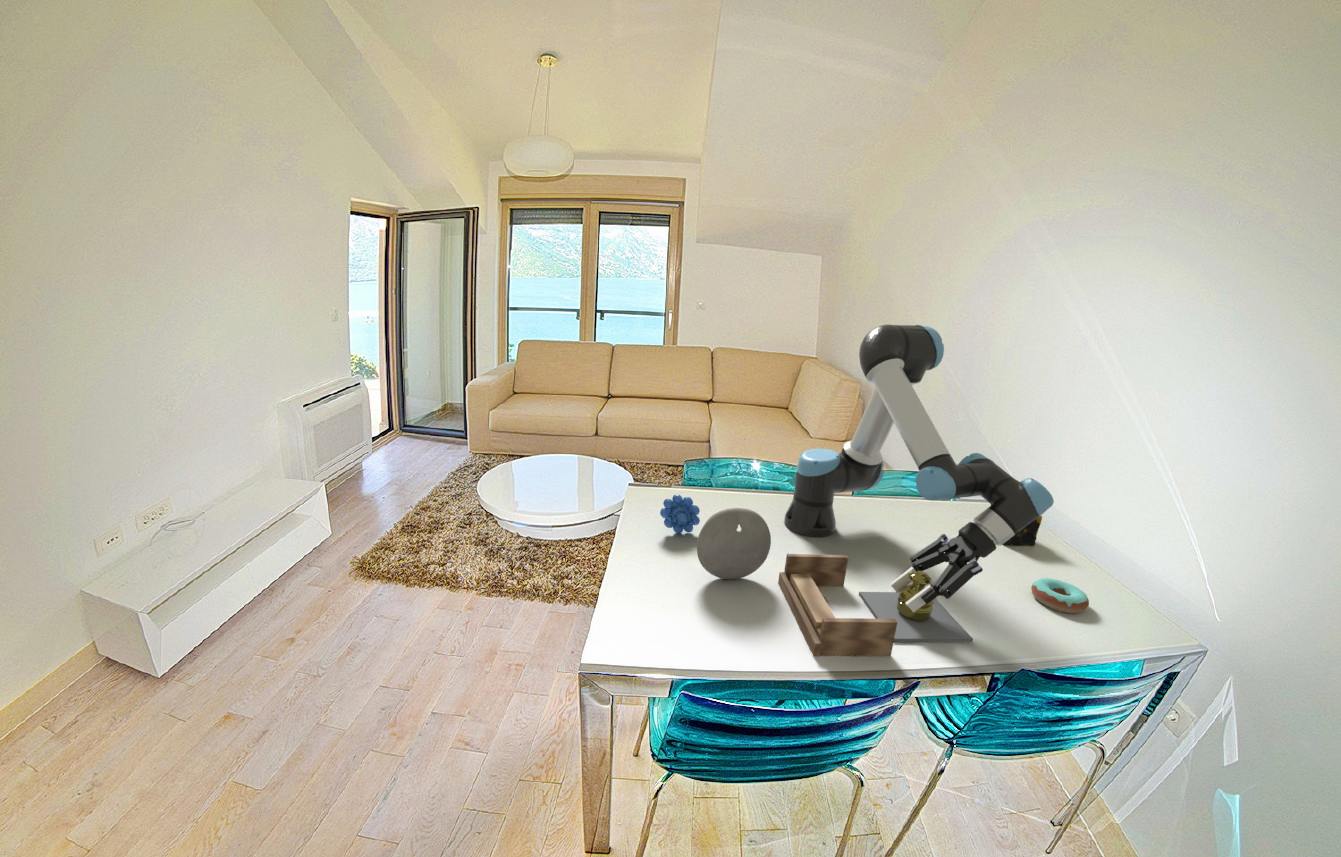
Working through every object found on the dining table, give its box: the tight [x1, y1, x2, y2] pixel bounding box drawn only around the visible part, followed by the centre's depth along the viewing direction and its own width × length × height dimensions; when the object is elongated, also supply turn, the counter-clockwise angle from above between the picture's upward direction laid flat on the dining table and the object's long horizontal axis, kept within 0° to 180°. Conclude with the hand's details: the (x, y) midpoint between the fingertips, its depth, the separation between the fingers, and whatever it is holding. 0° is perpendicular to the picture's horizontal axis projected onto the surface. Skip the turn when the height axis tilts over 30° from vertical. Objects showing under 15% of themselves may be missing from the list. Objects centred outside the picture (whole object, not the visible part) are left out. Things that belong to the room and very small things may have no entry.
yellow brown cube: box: [1002, 515, 1043, 547], centre depth 174 cm, size 10×10×10 cm
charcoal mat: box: [858, 591, 974, 643], centre depth 131 cm, size 18×18×1 cm
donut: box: [1030, 577, 1090, 614], centre depth 141 cm, size 12×12×4 cm
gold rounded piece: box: [897, 571, 934, 620], centre depth 129 cm, size 7×7×10 cm
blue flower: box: [659, 493, 701, 534], centre depth 162 cm, size 12×7×12 cm, turn 100°
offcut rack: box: [777, 553, 897, 657], centre depth 128 cm, size 16×27×8 cm, turn 5°
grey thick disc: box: [696, 507, 772, 580], centre depth 140 cm, size 18×7×19 cm, turn 100°
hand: (901, 597), depth 130 cm, fingers closed on gold rounded piece, 7 cm apart
